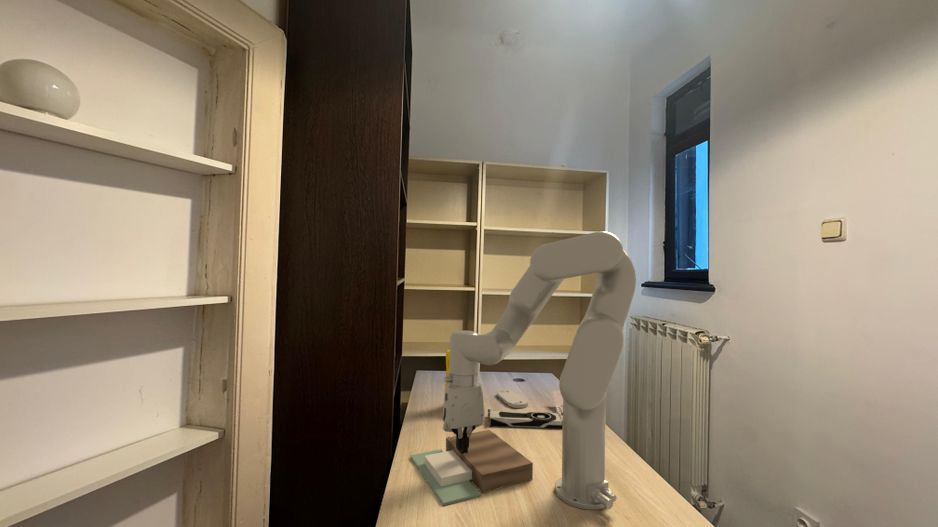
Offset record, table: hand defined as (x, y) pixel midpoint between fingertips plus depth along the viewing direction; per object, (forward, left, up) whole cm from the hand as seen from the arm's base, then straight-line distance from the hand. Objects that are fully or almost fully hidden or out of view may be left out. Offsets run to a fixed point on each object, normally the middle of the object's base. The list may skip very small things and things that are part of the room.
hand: (462, 451), depth 98 cm
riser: (0, -7, -5) cm, 8 cm away
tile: (0, +4, -4) cm, 6 cm away
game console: (+41, -41, -5) cm, 59 cm away
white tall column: (+19, -49, -5) cm, 53 cm away
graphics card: (+20, -32, -6) cm, 38 cm away
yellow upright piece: (+41, -16, -5) cm, 44 cm away
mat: (0, +5, -5) cm, 7 cm away
